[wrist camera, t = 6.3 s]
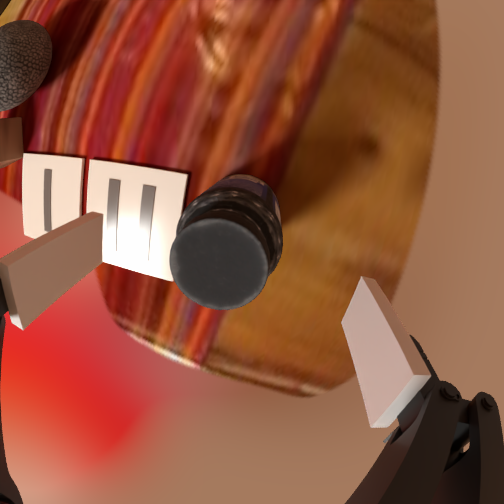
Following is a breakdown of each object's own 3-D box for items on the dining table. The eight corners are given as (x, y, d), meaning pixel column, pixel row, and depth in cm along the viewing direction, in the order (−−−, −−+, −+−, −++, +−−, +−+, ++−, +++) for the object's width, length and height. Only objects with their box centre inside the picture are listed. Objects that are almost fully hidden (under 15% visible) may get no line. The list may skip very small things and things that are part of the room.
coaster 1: (26, 233, 25) (23, 235, 25) (25, 152, 21) (22, 153, 21) (82, 252, 25) (79, 254, 25) (84, 158, 22) (81, 158, 21)
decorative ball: (24, 127, 20) (-42, 137, 11) (11, 71, 17) (-47, 69, 8) (79, 68, 18) (7, 54, 9) (61, 14, 15) (3, -5, 6)
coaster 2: (89, 254, 25) (86, 256, 25) (92, 159, 22) (89, 159, 21) (174, 279, 26) (172, 282, 25) (188, 174, 22) (186, 174, 21)
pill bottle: (191, 210, 23) (131, 264, 13) (241, 157, 21) (210, 169, 11) (244, 258, 24) (223, 341, 14) (295, 210, 22) (313, 269, 12)
